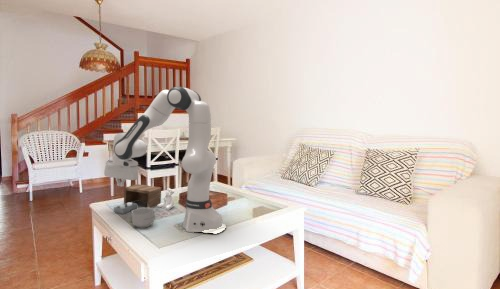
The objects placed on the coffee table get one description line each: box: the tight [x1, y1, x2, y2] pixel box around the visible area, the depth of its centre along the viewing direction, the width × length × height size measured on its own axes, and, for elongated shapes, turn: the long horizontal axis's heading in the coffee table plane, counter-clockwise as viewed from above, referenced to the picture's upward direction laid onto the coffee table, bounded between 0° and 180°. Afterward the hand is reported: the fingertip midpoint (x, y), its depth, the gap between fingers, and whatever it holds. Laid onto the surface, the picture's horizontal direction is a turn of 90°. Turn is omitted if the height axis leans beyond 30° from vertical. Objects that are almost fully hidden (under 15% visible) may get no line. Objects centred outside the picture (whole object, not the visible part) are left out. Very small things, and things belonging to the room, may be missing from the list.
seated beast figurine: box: [156, 187, 175, 212], centre depth 175 cm, size 10×9×12 cm
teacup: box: [130, 206, 156, 229], centre depth 144 cm, size 14×11×8 cm
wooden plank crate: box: [123, 183, 162, 208], centre depth 178 cm, size 18×12×10 cm, turn 74°
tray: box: [113, 202, 138, 215], centre depth 164 cm, size 12×6×4 cm, turn 164°
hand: (120, 186), depth 159 cm, fingers closed
